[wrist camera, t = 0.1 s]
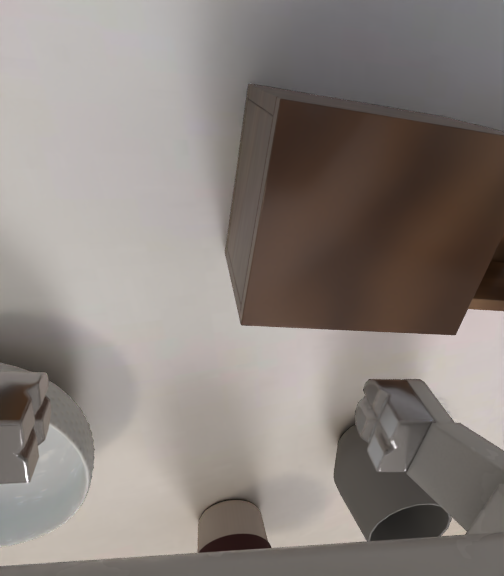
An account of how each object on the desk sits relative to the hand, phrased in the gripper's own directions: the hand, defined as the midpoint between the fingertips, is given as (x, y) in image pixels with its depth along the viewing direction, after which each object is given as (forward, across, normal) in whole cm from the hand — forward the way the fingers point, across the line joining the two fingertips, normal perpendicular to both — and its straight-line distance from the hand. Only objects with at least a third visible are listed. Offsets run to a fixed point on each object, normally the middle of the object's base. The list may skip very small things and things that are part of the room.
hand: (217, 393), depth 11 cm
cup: (+20, -20, +25) cm, 39 cm away
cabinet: (+20, -10, -1) cm, 22 cm away
